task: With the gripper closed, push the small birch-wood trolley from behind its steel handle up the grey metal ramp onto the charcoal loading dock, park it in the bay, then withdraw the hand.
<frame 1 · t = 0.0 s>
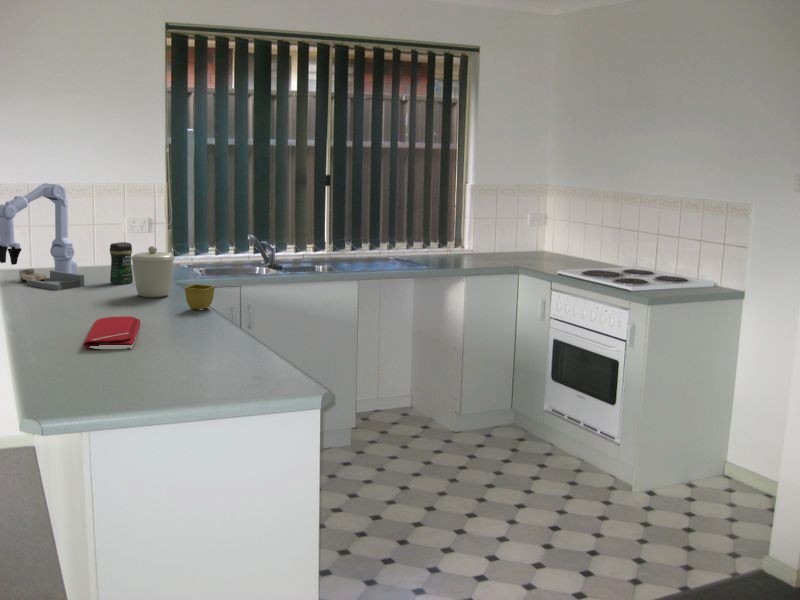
hand: (8, 263, 386), 10 cm above the worktop, fingers open, 7 cm apart
trolley: (32, 281, 400), on the worktop
flower pot: (200, 309, 349), on the worktop
loading dock: (54, 285, 393), on the worktop
canister: (153, 296, 375), on the worktop
coffee jar: (122, 283, 403), on the worktop
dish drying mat: (113, 337, 302), on the worktop
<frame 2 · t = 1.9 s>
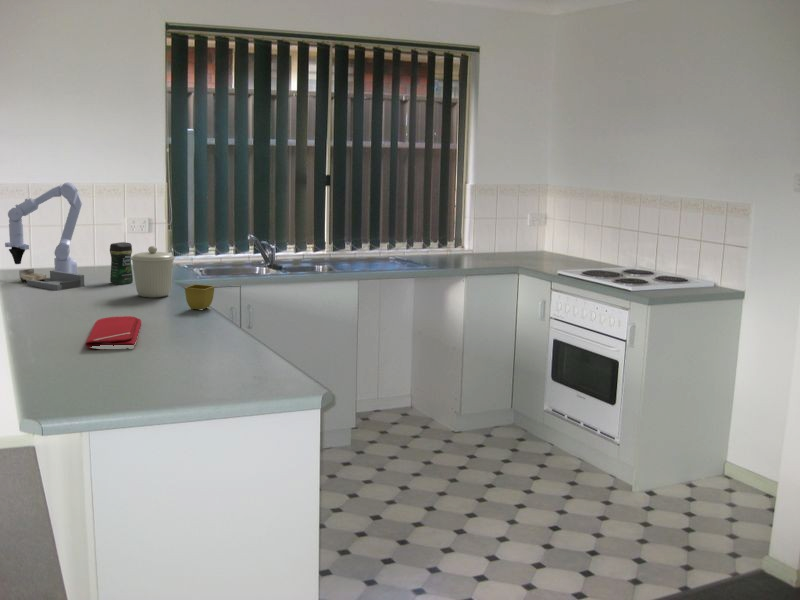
hand: (17, 264, 404), 7 cm above the worktop, fingers closed
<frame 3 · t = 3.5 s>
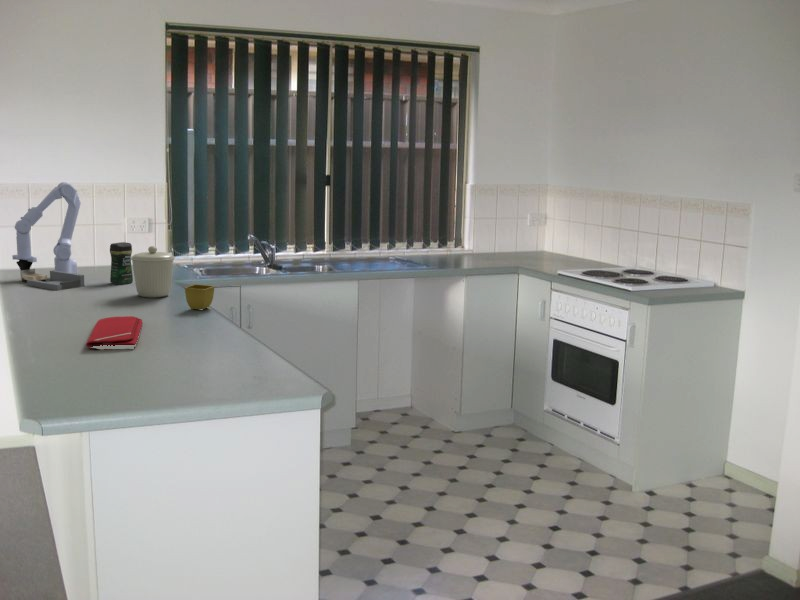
hand: (25, 276, 403), 2 cm above the worktop, fingers closed
trolley: (34, 282, 400), on the worktop, touching gripper
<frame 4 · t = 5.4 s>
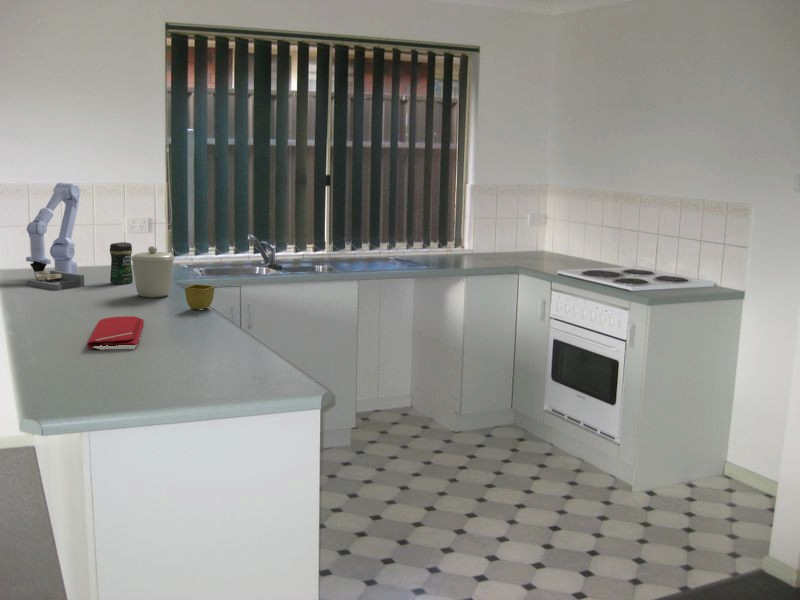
hand: (39, 278, 398), 2 cm above the worktop, fingers closed
trolley: (49, 282, 394), point 1 cm above the worktop, tilted 9°, touching gripper, loading dock
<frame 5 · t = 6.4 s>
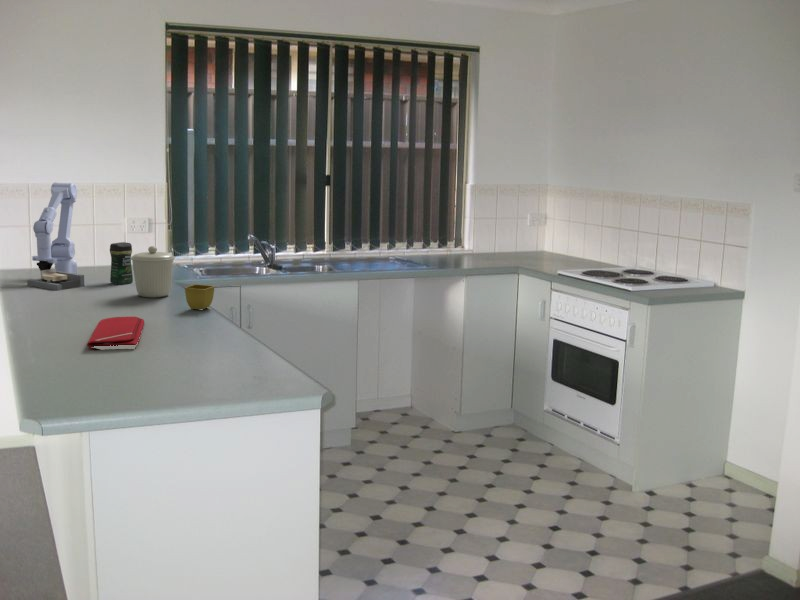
hand: (45, 278, 395), 3 cm above the worktop, fingers closed
trolley: (54, 282, 392), point 2 cm above the worktop, touching gripper
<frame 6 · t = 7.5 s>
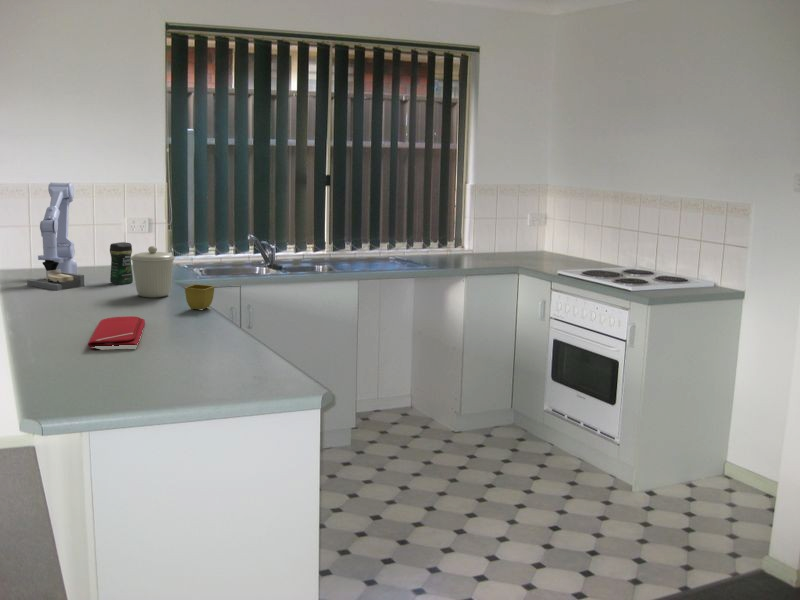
hand: (51, 277, 393), 3 cm above the worktop, fingers closed
trolley: (60, 283, 390), point 2 cm above the worktop, touching gripper, loading dock
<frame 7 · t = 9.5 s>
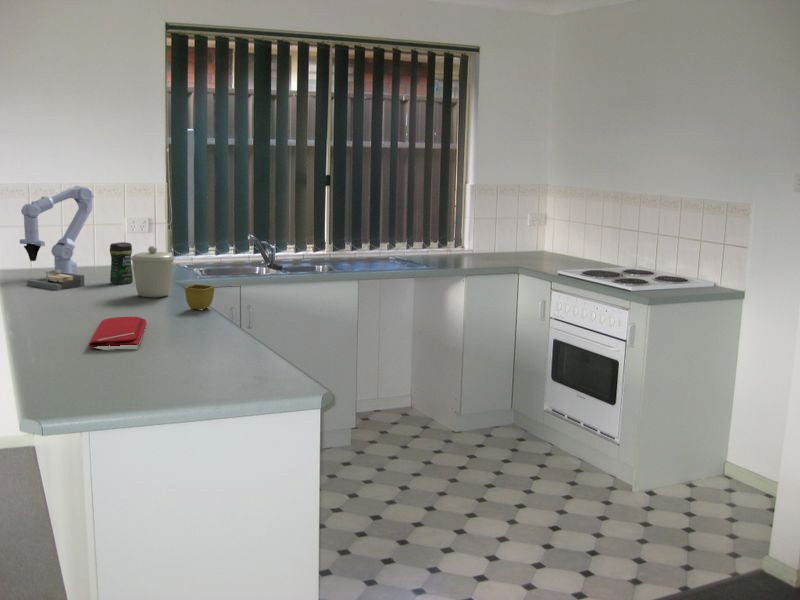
hand: (33, 260, 400), 9 cm above the worktop, fingers closed
trolley: (60, 283, 390), point 1 cm above the worktop, touching loading dock
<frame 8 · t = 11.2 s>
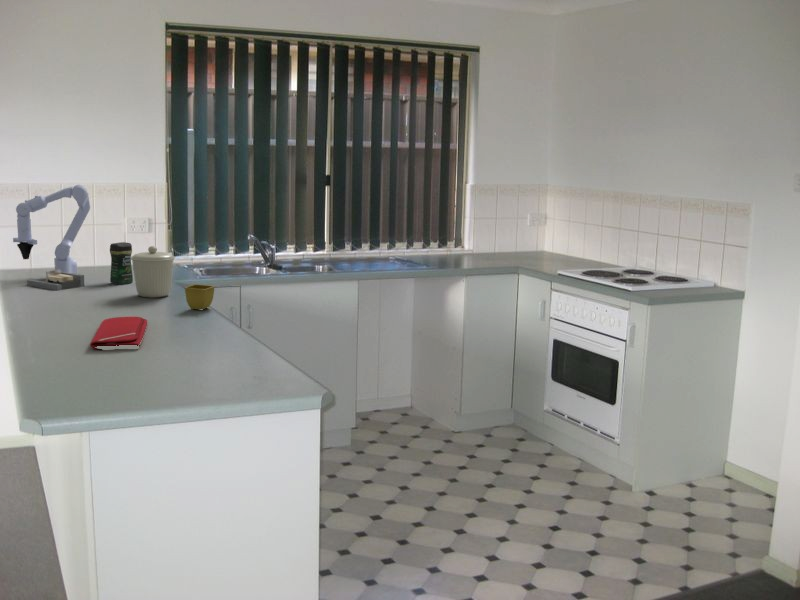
hand: (26, 259, 405), 9 cm above the worktop, fingers closed
at the end: trolley inside the target area (0.8 cm from its centre), point 1.5 cm above the worktop; trolley tilted 0° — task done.
